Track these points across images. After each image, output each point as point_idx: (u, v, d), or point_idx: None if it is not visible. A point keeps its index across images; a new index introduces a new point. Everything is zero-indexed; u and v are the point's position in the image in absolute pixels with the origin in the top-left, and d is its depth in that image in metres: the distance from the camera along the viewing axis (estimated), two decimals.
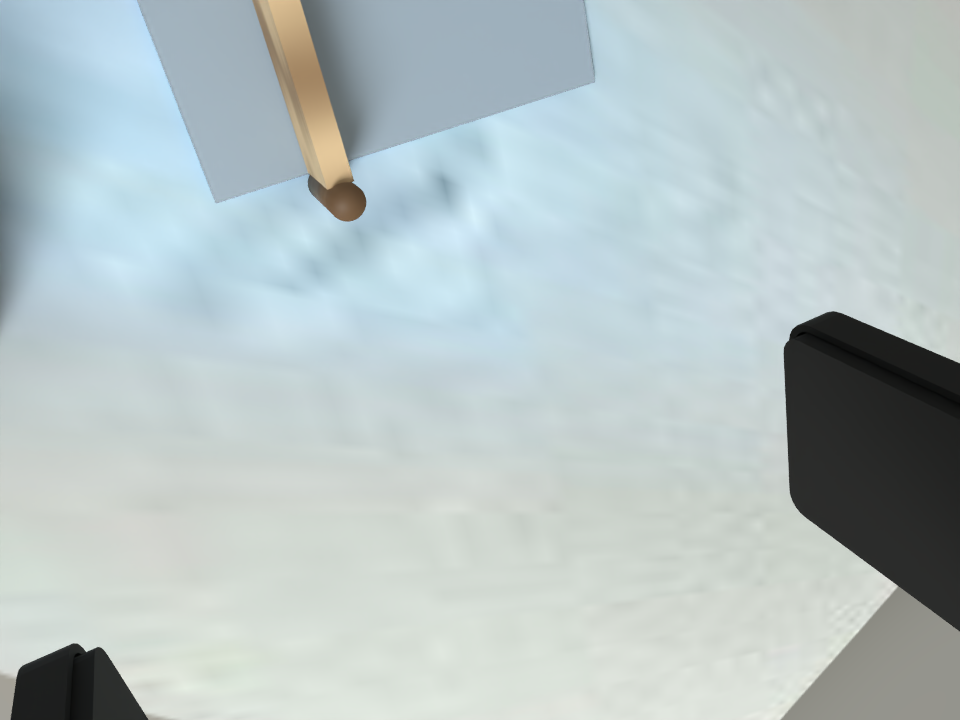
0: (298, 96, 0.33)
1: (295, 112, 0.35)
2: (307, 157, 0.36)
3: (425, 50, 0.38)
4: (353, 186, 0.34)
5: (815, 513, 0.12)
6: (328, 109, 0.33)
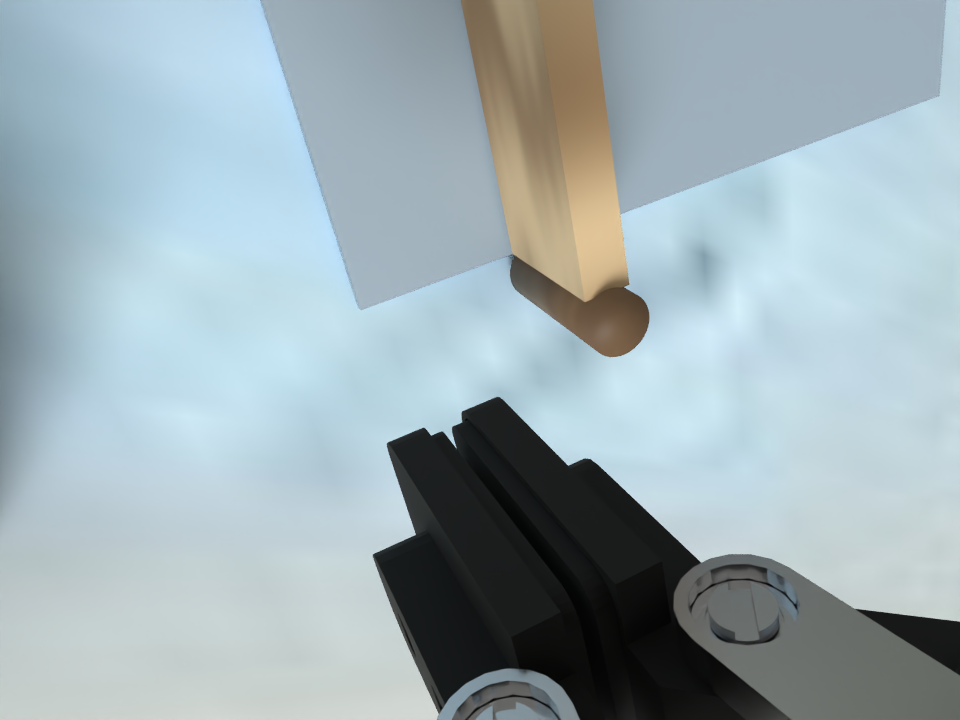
0: (558, 135, 0.17)
1: (524, 159, 0.19)
2: (527, 234, 0.21)
3: (711, 45, 0.22)
4: (632, 296, 0.19)
5: None
6: (605, 158, 0.17)
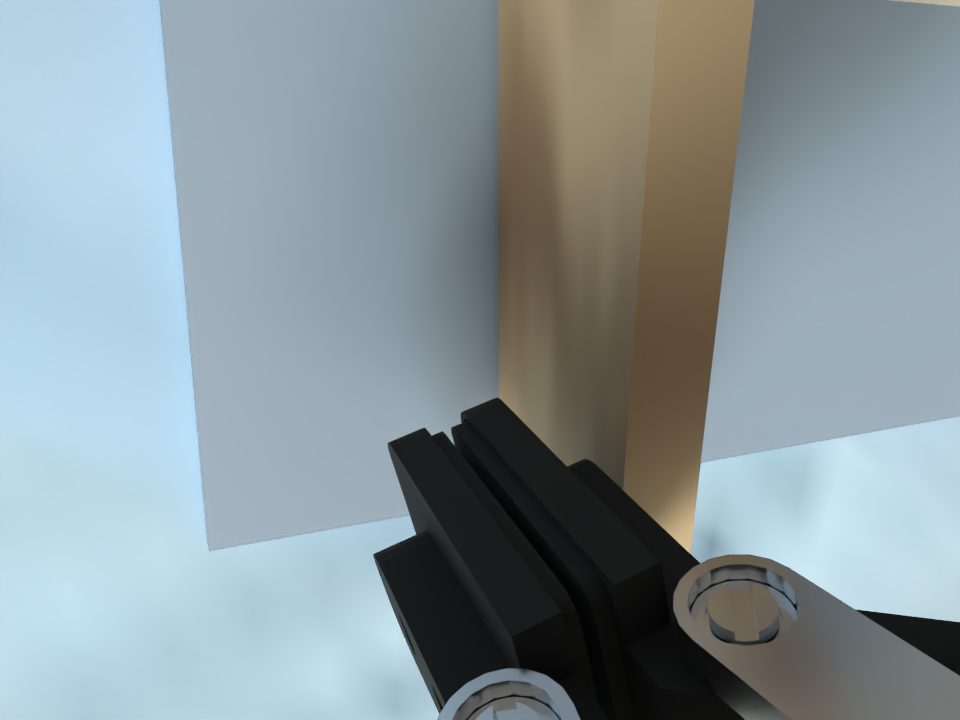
0: (629, 403, 0.10)
1: (553, 400, 0.12)
2: None
3: (796, 285, 0.16)
4: None
5: None
6: (692, 443, 0.11)
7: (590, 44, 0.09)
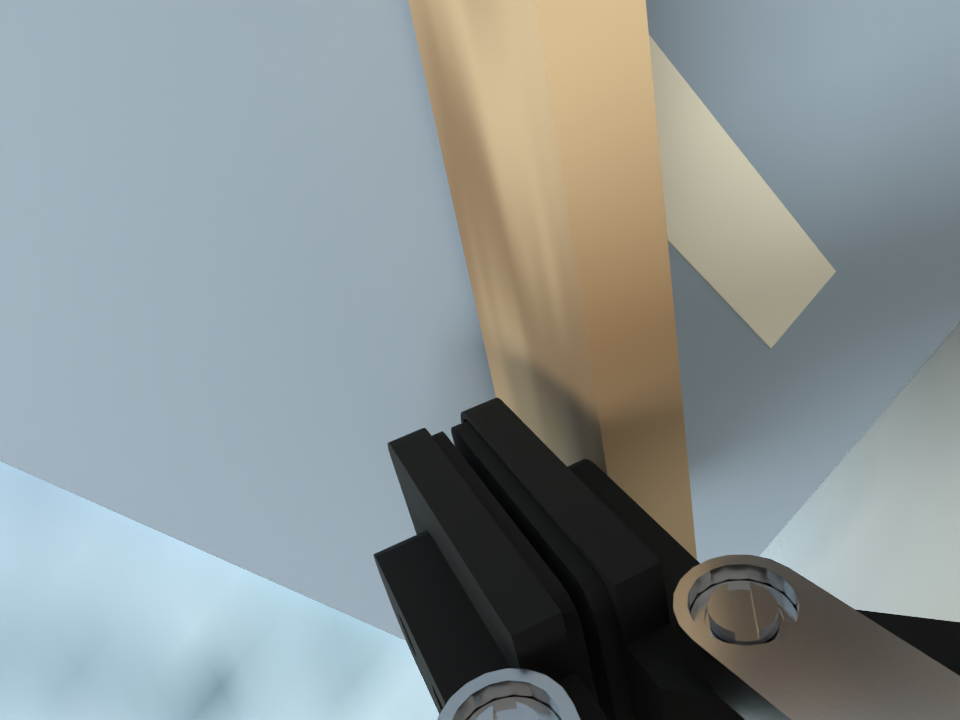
0: (596, 395, 0.10)
1: (535, 389, 0.12)
2: None
3: None
4: None
5: None
6: (672, 419, 0.10)
7: (489, 40, 0.09)
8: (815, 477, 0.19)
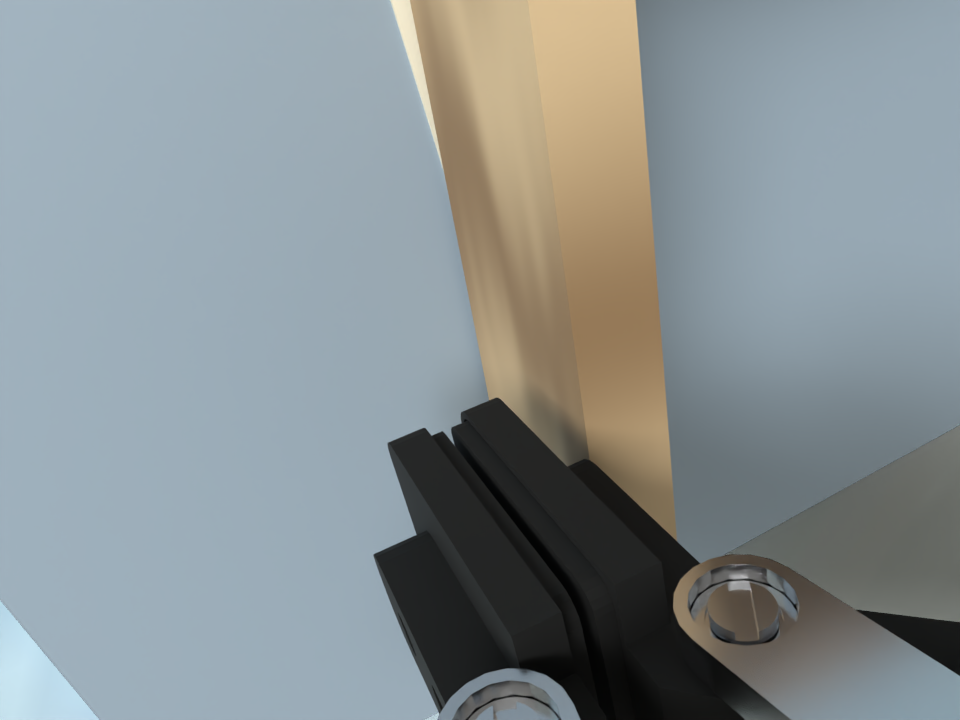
0: (579, 377, 0.10)
1: (523, 374, 0.12)
2: None
3: (190, 429, 0.13)
4: None
5: None
6: (655, 405, 0.11)
7: (483, 24, 0.09)
8: None
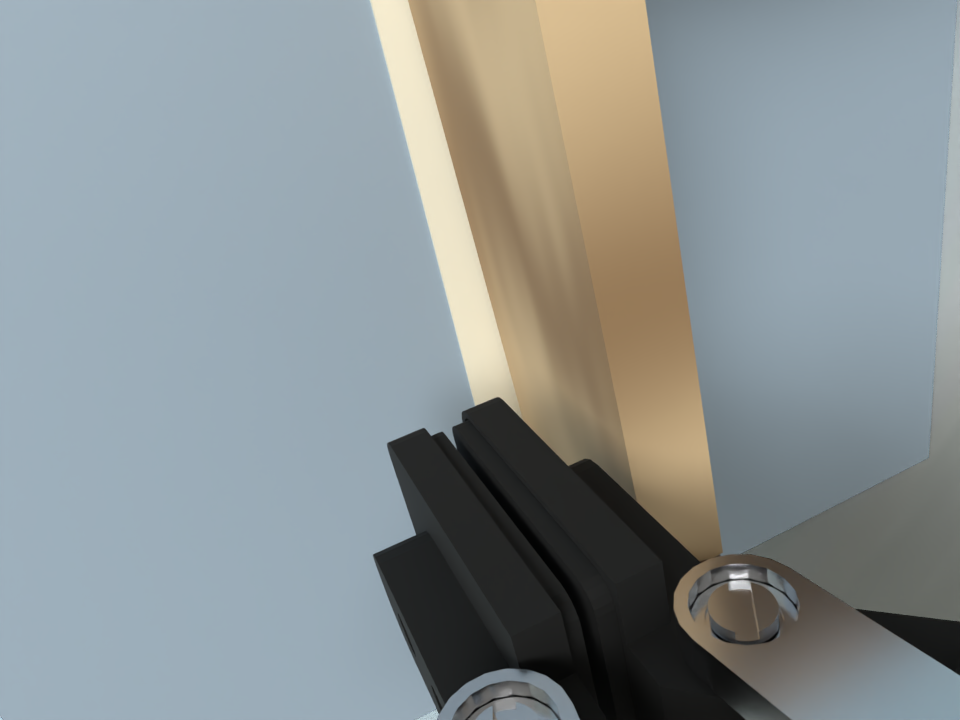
0: (609, 360, 0.10)
1: (548, 361, 0.12)
2: (555, 450, 0.14)
3: (130, 422, 0.12)
4: None
5: None
6: (687, 382, 0.10)
7: (484, 7, 0.09)
8: None
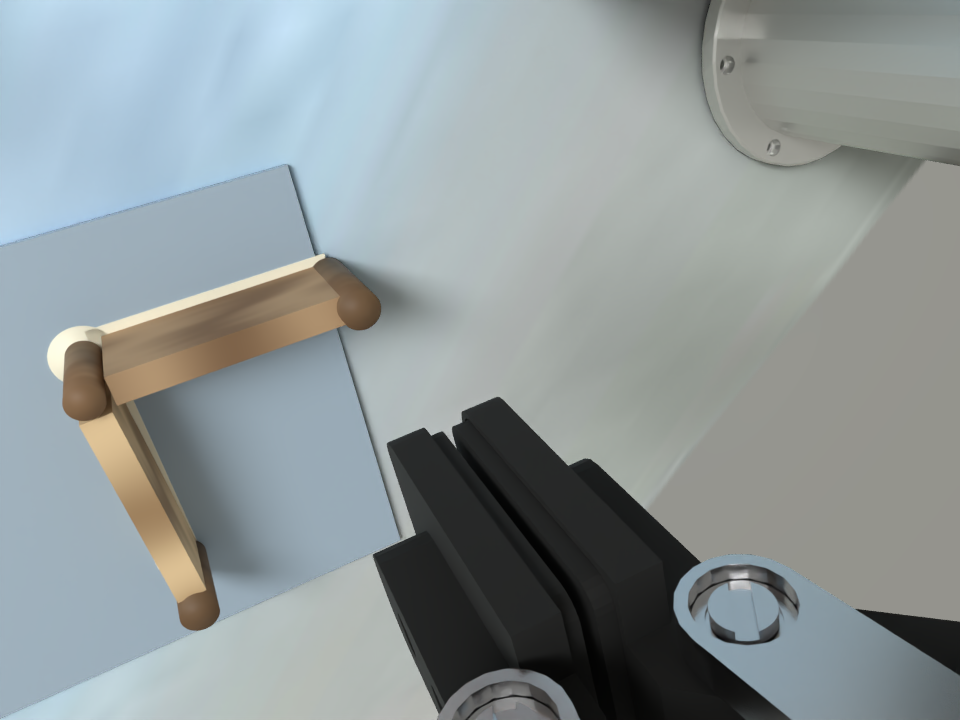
0: (138, 531, 0.32)
1: None
2: None
3: None
4: (204, 599, 0.33)
5: None
6: (172, 535, 0.32)
7: None
8: (161, 641, 0.39)
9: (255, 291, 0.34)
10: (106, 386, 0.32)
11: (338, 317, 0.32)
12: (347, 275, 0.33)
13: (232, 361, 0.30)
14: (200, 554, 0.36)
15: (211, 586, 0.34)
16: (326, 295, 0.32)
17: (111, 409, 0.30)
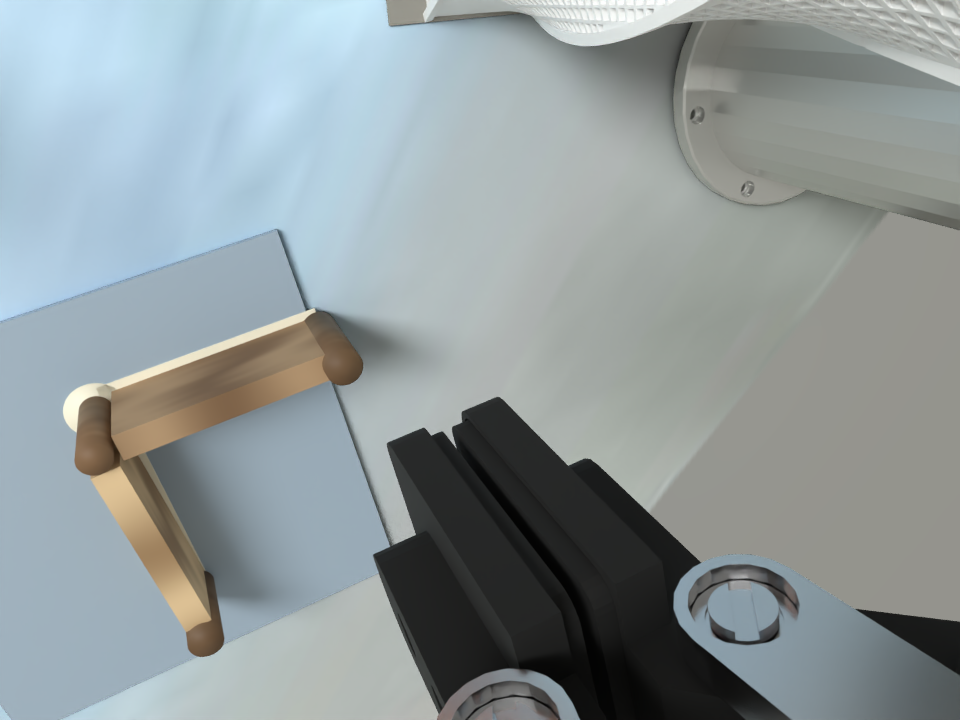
0: (147, 569, 0.35)
1: None
2: None
3: (19, 577, 0.37)
4: (210, 628, 0.37)
5: None
6: (178, 572, 0.35)
7: None
8: (175, 661, 0.42)
9: (250, 346, 0.36)
10: None
11: (324, 373, 0.34)
12: (333, 332, 0.35)
13: (227, 417, 0.33)
14: (207, 584, 0.39)
15: (216, 615, 0.38)
16: (313, 353, 0.34)
17: (119, 463, 0.33)
